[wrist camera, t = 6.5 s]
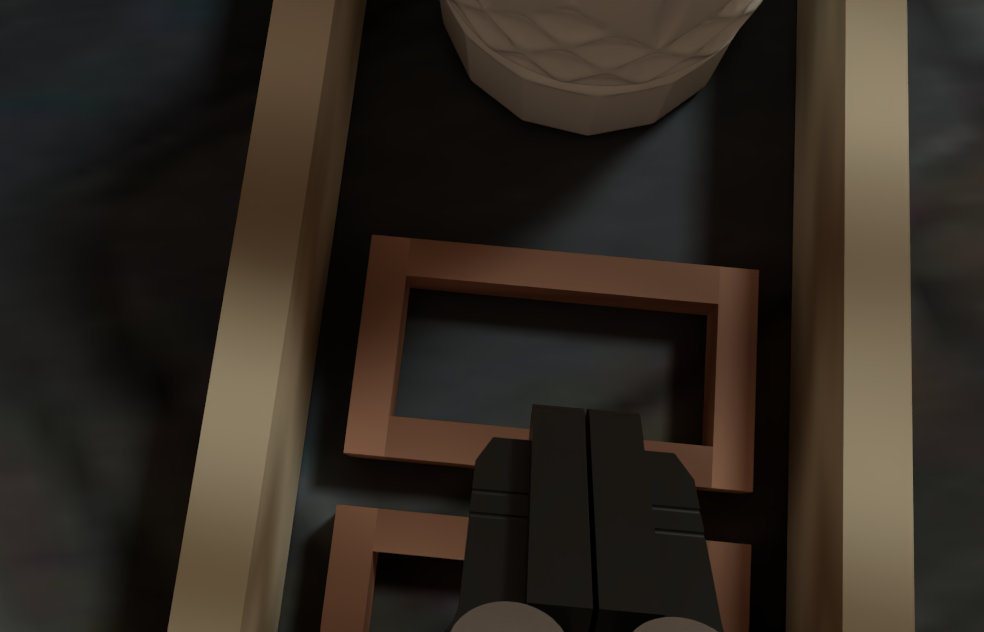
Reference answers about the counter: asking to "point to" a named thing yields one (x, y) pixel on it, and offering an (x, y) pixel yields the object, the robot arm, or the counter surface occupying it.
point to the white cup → (592, 55)
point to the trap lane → (583, 280)
